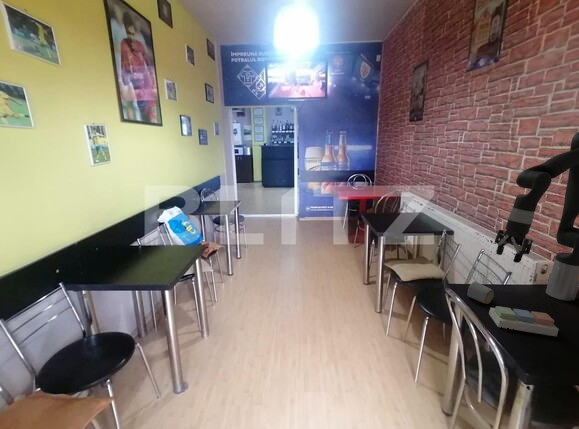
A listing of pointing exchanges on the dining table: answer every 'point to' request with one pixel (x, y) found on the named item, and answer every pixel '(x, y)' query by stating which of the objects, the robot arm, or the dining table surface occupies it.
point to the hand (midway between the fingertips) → (507, 258)
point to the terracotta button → (542, 318)
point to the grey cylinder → (480, 293)
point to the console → (523, 325)
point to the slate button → (524, 315)
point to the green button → (505, 313)
